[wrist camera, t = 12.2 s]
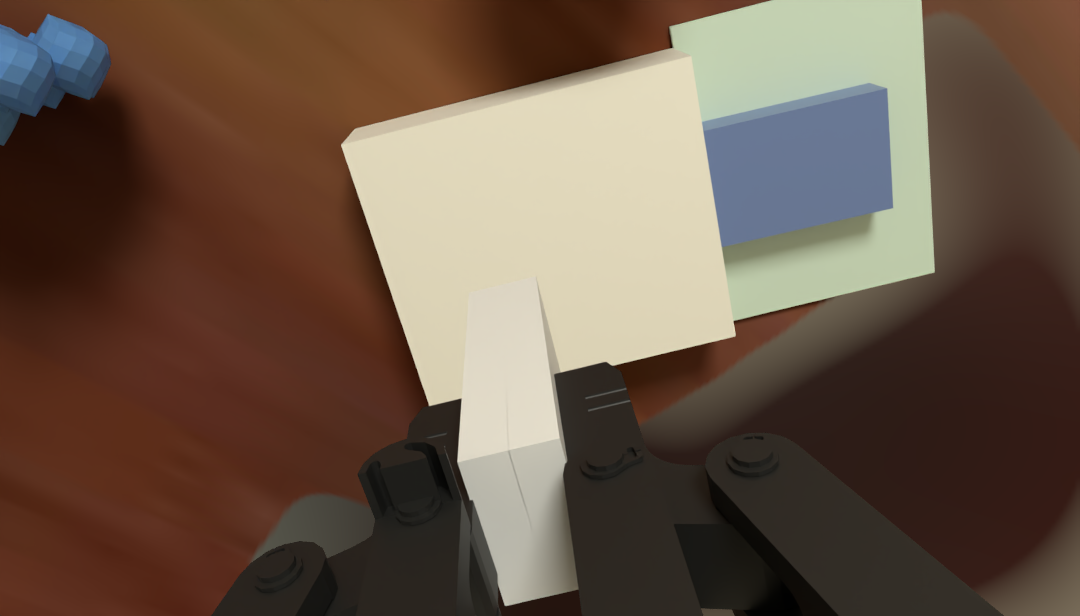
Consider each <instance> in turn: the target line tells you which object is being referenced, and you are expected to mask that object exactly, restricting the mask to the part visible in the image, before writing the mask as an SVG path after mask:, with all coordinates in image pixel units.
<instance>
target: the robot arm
mask: <svg viewBox="0 0 1080 616" xmlns="http://www.w3.org/2000/svg"><path fill="white" fill-rule="evenodd" d="M358 477H359V479H360V482H361V484H362V487H363V489H364V492H365V494H366V497H367V500H368V502H369V505H370V507H371V510H372V512H373V515H374V517H375V524H374V529H373V534H372V536H371V537H369V538H368V539H366V540H365V541H363V542H361V543H359V544H357V545H356V546H354V547H352V548H350V549H347V550H345V551H343V552H341V553H338V554H336V555H334V556H332V557H330V558H327V557H326V555H325V553H324V550H323V549H322V548H321V547H320V546H318V545H317V544H315V543H313V542H302V541H299V542H294V543H290V544H284V545H282V546H279V547H276V548H275V549H272V550H270V551H268V552H266V553H265V554H263V555H262V556H260V557H259V558H257V559H256V560H255V561H253V562H252V563H250V565H249V566H248V567H247V568H246V569H245V570H244V571H243V572H242V573H241V574H240V575H239V577H238V578H237V580H236V581H235V582H234V584H233V585H232V587H231V588H230V590H229V591H228V592H227V594H226V595H225V597H224V598H223V600H222V601H221V602H220V604H219V605H218V607H217V608H216V610H215V611H214V613H213V614H212V615H211V616H501V613H500V610H499V607H498V586H499V589H500V592H501V594H502V598H503V601H504V604H505V606H507V605H512V604H516V603H521V602H524V601H529V600H533V599H538V598H542V597H547V596H551V595H556V594H560V593H564V592H568V591H573V590H577V589H579V596H580V603H581V610H582V616H703V614H702V610H701V608H709V609H732V610H733V613H734V615H735V616H1003V615H1002V614H1001V613H1000V612H999V611H998V610H996V609H995V608H994V607H993V606H991V605H990V604H989V603H988V602H987V601H985V600H984V599H983V598H982V597H981V596H979V595H978V594H977V593H976V592H975V591H973V590H972V589H971V588H970V587H968V586H967V585H966V584H965V583H963V582H962V581H961V580H960V579H959V578H958V577H956V576H955V575H954V574H953V573H952V572H950V571H949V570H948V569H947V568H945V567H944V566H943V565H942V564H941V563H939V562H938V561H937V560H936V559H935V558H933V557H932V556H931V555H930V554H929V553H927V552H926V551H925V550H924V549H923V548H921V547H920V546H919V545H918V544H917V543H915V542H914V541H913V540H912V539H910V538H909V537H908V536H907V535H906V534H904V533H903V532H902V531H901V530H900V529H898V528H897V527H896V526H895V525H894V524H892V523H891V522H890V521H889V520H888V519H886V518H885V517H884V516H883V515H882V514H880V513H879V512H878V511H877V510H876V509H874V508H873V507H872V506H871V505H869V504H868V503H867V502H866V501H865V500H863V499H862V498H861V497H860V496H859V495H857V494H856V493H855V492H854V491H853V490H851V489H850V488H849V487H848V486H846V485H845V484H844V483H843V482H842V481H840V480H839V479H838V478H837V477H836V476H834V475H833V474H832V473H831V472H830V471H828V470H827V469H826V468H825V467H824V466H822V465H821V464H820V463H819V462H818V461H816V460H815V459H814V458H813V457H811V456H810V455H809V454H808V453H807V452H805V451H804V450H803V449H802V448H801V447H799V446H798V445H797V444H796V443H794V442H792V441H790V440H788V439H786V438H785V437H783V436H779V435H774V434H769V433H747V434H743V435H739V436H735V437H731V438H729V439H727V440H725V441H723V442H721V443H720V444H718V445H716V446H715V447H714V448H713V449H712V451H711V452H710V453H709V454H708V455H707V459H706V464H705V465H677V464H673V463H669V462H665V461H662V460H660V459H658V458H656V457H655V456H653V455H652V454H651V453H650V452H649V451H648V450H647V448H646V446H645V444H644V441H643V438H642V435H641V432H640V429H639V426H638V422H637V419H636V416H635V413H634V410H633V407H632V404H631V401H630V398H629V395H628V392H627V389H626V385H625V382H624V379H623V376H622V373H621V371H619V370H618V369H616V368H615V367H613V366H612V365H610V364H609V363H607V362H602V363H598V364H594V365H590V366H586V367H581V368H577V369H573V370H569V371H565V372H561V371H560V367H559V363H558V359H557V356H556V352H555V348H554V344H553V340H552V336H551V332H550V329H549V325H548V321H547V317H546V313H545V309H544V305H543V302H542V298H541V294H540V290H539V286H538V282H537V278H536V276H535V277H531V278H527V279H523V280H519V281H515V282H510V283H506V284H502V285H498V286H494V287H490V288H486V289H482V290H478V291H474V292H470V293H469V300H468V314H467V329H466V343H465V358H464V373H463V387H462V398H461V399H457V400H452V401H448V402H444V403H440V404H436V405H432V406H427V407H423V408H422V409H421V411H420V412H419V413H418V414H417V416H416V417H415V418H414V419H413V421H412V422H411V423H410V425H409V430H408V436H407V439H405V440H402V441H399V442H397V443H394V444H391V445H389V446H387V447H385V448H383V449H382V450H380V451H378V452H376V453H375V454H373V455H372V456H371V457H370V458H369V459H368V460H367V461H366V462H365V463H364V464H363V465H362V467H361V469H360V471H359V473H358Z"/></svg>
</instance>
